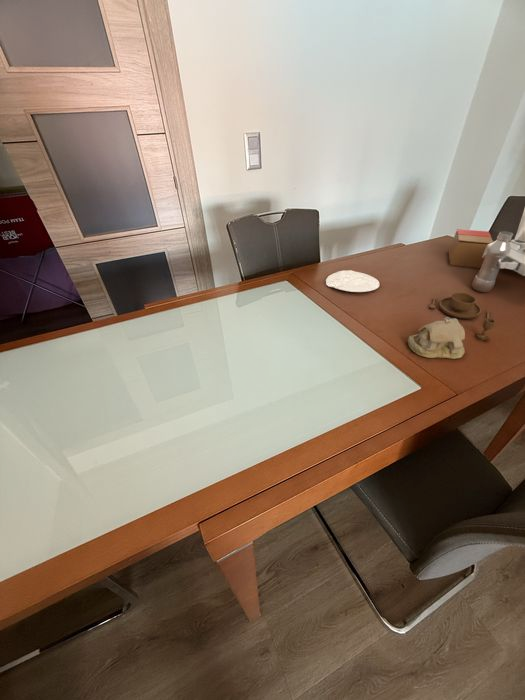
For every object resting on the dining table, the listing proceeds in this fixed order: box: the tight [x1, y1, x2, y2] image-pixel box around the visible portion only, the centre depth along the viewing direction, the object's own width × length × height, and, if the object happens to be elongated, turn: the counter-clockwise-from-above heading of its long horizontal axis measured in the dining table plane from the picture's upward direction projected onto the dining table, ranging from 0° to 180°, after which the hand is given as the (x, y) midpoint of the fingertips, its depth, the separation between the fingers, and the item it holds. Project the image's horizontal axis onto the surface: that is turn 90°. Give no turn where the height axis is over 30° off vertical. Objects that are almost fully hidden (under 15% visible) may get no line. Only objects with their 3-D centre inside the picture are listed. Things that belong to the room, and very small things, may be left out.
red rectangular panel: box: [456, 228, 492, 238], centre depth 124 cm, size 7×12×1 cm, turn 67°
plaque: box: [325, 269, 380, 293], centre depth 116 cm, size 20×20×2 cm
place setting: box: [429, 292, 496, 341], centre depth 94 cm, size 18×20×6 cm
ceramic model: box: [407, 316, 466, 359], centre depth 82 cm, size 14×11×10 cm
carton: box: [448, 230, 494, 269], centre depth 125 cm, size 14×12×10 cm
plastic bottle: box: [471, 230, 514, 293], centre depth 102 cm, size 6×7×20 cm
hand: (491, 260), depth 102 cm, fingers closed on plastic bottle, 6 cm apart
